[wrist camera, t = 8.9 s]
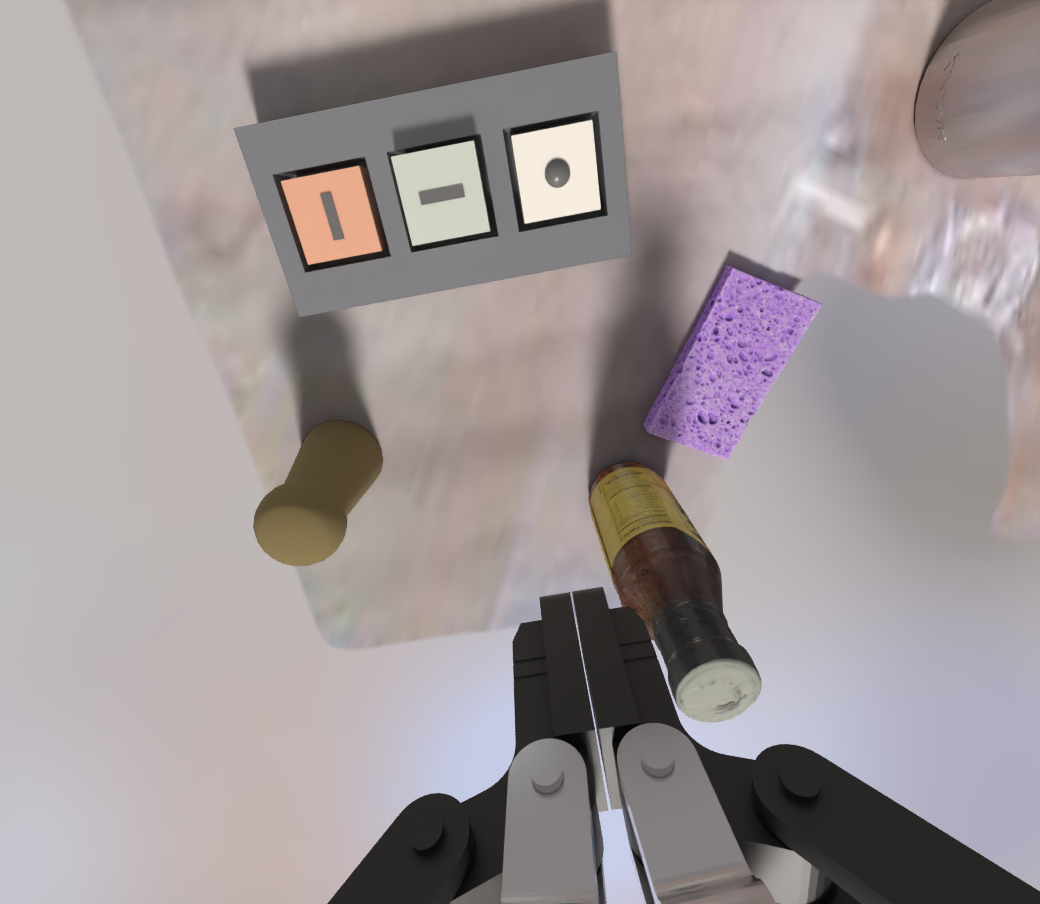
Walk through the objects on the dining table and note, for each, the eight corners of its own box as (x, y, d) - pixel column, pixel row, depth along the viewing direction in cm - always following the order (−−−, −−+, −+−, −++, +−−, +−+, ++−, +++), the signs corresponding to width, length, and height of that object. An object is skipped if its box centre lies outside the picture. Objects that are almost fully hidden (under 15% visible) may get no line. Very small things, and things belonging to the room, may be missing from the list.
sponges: (640, 423, 40) (646, 433, 39) (724, 261, 35) (735, 263, 34) (718, 452, 42) (728, 462, 40) (810, 299, 37) (825, 303, 35)
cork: (292, 474, 40) (225, 562, 30) (314, 407, 38) (250, 478, 28) (368, 502, 42) (327, 595, 32) (394, 438, 40) (359, 517, 30)
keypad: (604, 67, 30) (616, 50, 27) (619, 250, 34) (632, 255, 31) (260, 136, 31) (233, 128, 28) (317, 307, 35) (299, 317, 32)
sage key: (475, 145, 29) (473, 140, 27) (490, 229, 31) (490, 231, 29) (398, 160, 30) (390, 156, 27) (418, 243, 31) (412, 246, 29)
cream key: (585, 125, 30) (592, 119, 28) (594, 209, 32) (601, 209, 30) (510, 140, 30) (511, 135, 28) (523, 222, 32) (524, 223, 30)
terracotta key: (368, 168, 31) (358, 165, 28) (389, 247, 33) (381, 251, 30) (295, 182, 31) (280, 181, 29) (320, 260, 33) (307, 264, 31)
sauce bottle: (657, 525, 44) (768, 749, 26) (582, 524, 43) (642, 750, 25) (669, 453, 41) (804, 649, 23) (590, 452, 41) (663, 648, 23)
